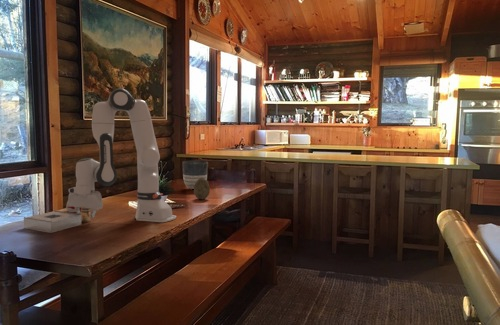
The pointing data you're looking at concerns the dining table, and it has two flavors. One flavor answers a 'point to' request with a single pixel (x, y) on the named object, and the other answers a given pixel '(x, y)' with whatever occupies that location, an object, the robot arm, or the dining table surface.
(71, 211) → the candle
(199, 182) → the decorative egg
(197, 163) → the planter
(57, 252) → the dining table surface
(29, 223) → the bore block
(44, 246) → the dining table surface
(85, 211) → the small beige jar
